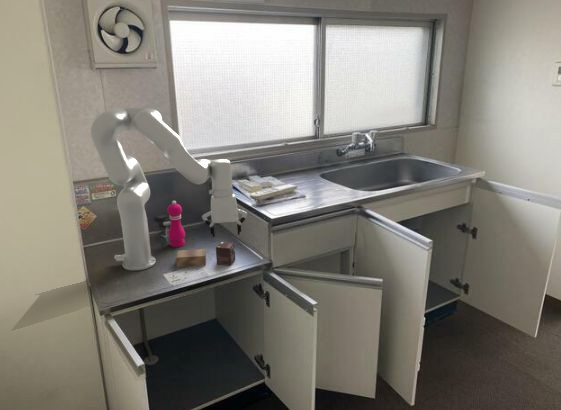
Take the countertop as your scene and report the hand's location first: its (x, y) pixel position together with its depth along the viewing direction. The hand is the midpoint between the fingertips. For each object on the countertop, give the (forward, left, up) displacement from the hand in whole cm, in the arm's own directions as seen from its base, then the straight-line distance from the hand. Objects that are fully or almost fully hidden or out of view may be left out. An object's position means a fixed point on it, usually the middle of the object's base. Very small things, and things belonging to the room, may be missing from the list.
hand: (226, 234), depth 173 cm
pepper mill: (-22, +22, -12) cm, 33 cm away
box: (-1, 0, -12) cm, 12 cm away
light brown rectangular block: (-14, +2, -12) cm, 18 cm away
